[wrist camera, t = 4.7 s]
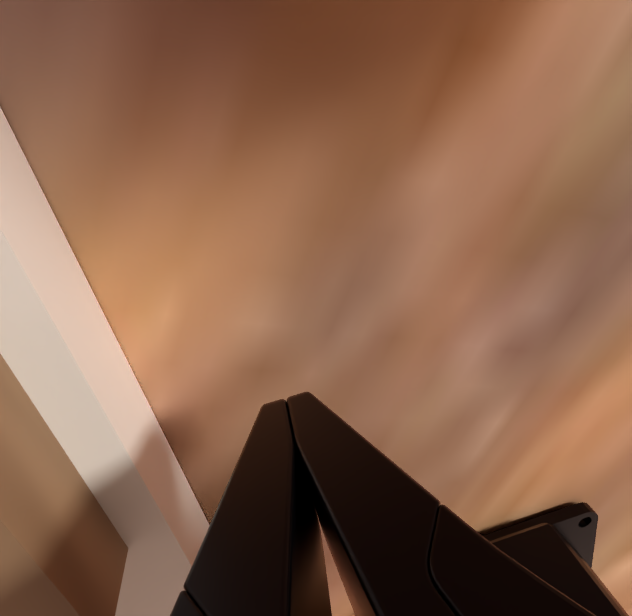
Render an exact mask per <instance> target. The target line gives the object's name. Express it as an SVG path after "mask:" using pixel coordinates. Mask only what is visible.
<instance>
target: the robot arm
mask: <svg viewBox="0 0 632 616" xmlns="http://www.w3.org/2000/svg"><path fill="white" fill-rule="evenodd" d="M317 515H318V516H317ZM318 518H319V520H318ZM319 521H320V524H321V527H322V530H323V533H324V536H325V538H326V541H327V544H328V546H329V549H330V551H331V554H332V556H333V559H334V562H335V564H336V567H337V569H338V572H339V574H340V577H341V580H342V582H343V585H344V587H345V590H346V592H347V595H348V597H349V600H350V603H351V605H352V608H353V610H354V613H355V615H356V616H629V615H628V614H627V613H626V612H625V610H624V609H623V608H622V607H621V605H620V604H619V603H618V602H617V600H616V599H615V598H614V597H613V595H612V594H611V593H610V592H609V590H608V589H607V588H606V586H605V585H604V584H603V583H602V581H601V580H600V579H599V578H598V576H597V575H596V574H595V573H594V571H593V570H592V569H591V567H592V559H593V552H594V544H595V537H596V529H597V521H598V515H597V514H596V512H595V511H594V510H593V509H592V508H591V507H590V506H589V505H588V504H587V503H583V502H582V503H577V504H574V505H571V506H569V507H566V508H563V509H560V510H557V511H554V512H551V513H548V514H545V515H542V516H539V517H537V518H534V519H531V520H528V521H525V522H522V523H519V524H516V525H513V526H510V527H507V528H505V529H502V530H499V531H496V532H493V533H490V534H487V535H484V536H482V535H481V534H479V533H478V532H477V531H475V530H474V529H473V528H472V527H470V526H469V525H468V524H467V523H465V522H464V521H463V520H462V519H461V518H459V517H458V516H457V515H456V514H455V513H453V512H452V511H451V510H450V509H449V508H448V507H446V506H445V505H440V501H439V500H438V499H436V498H435V497H434V496H433V495H432V494H430V493H429V492H428V491H427V490H426V489H424V488H423V487H422V486H421V485H420V484H419V483H417V482H416V481H415V480H414V479H413V478H411V477H410V476H409V475H408V474H407V473H405V472H404V471H403V470H402V469H401V468H399V467H398V466H397V465H396V464H395V463H394V462H392V461H391V460H390V459H389V458H388V457H386V456H385V455H384V454H383V453H382V452H380V451H379V450H378V449H377V448H376V447H374V446H373V445H372V444H371V443H370V442H368V441H367V440H366V439H365V438H364V437H363V436H361V435H360V434H359V433H358V432H357V431H355V430H354V429H353V428H352V427H351V426H349V425H348V424H347V423H346V422H345V421H343V420H342V419H341V418H340V417H339V416H338V415H336V414H335V413H334V412H333V411H332V410H330V409H329V408H328V407H327V406H326V405H324V404H323V403H322V402H321V401H320V400H318V399H317V398H316V397H315V396H314V395H312V394H311V393H310V392H304V393H300V394H297V395H294V396H291V397H288V399H287V402H286V401H285V400H284V399H280V400H277V401H274V402H270V403H267V404H264V405H263V406H262V407H261V409H260V412H259V414H258V416H257V418H256V421H255V423H254V425H253V428H252V430H251V432H250V434H249V437H248V439H247V441H246V444H245V446H244V448H243V450H242V453H241V455H240V457H239V460H238V462H237V464H236V466H235V469H234V471H233V473H232V476H231V478H230V480H229V482H228V485H227V487H226V489H225V492H224V494H223V496H222V498H221V501H220V503H219V505H218V508H217V510H216V512H215V514H214V517H213V519H212V521H211V523H210V526H209V528H208V530H207V533H206V535H205V537H204V539H203V542H202V544H201V546H200V549H199V551H198V553H197V555H196V558H195V560H194V562H193V565H192V567H191V569H190V571H189V574H188V576H187V578H186V581H185V583H184V586H183V587H184V590H183V591H181V592H180V593H179V596H178V598H177V600H176V603H175V605H174V607H173V610H172V612H171V614H170V616H332V613H331V605H330V598H329V590H328V582H327V575H326V567H325V559H324V551H323V544H322V537H321V531H320V525H319Z"/></svg>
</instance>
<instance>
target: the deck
mask: <svg viewBox="0 0 632 616" xmlns="http://www.w3.org/2000/svg"><path fill="white" fill-rule="evenodd" d="M0 354H1V355H2V357H3V358H4V360H5V361H6V363H7V364H8V366H9V367H10V369H11V370H12V372H13V373H14V375H15V376H16V378H17V379H18V381H19V382H20V384H21V386H22V387H23V389H24V390H25V392H26V393H27V395H28V396H29V398H30V399H31V401H32V402H33V404H34V405H35V407H36V408H37V410H38V411H39V413H40V414H41V416H42V417H43V419H44V421H45V422H46V424H47V425H48V427H49V428H50V430H51V431H52V433H53V434H54V436H55V437H56V439H57V440H58V442H59V443H60V445H61V446H62V448H63V449H64V451H65V452H66V454H67V456H68V457H69V459H70V460H71V462H72V463H73V465H74V466H75V468H76V469H77V471H78V472H79V474H80V475H81V477H82V478H83V480H84V481H85V483H86V484H87V486H88V487H89V489H90V491H91V492H92V494H93V495H94V497H95V498H96V500H97V501H98V503H99V504H100V506H101V507H102V509H103V510H104V512H105V513H106V515H107V516H108V518H109V519H110V521H111V523H112V524H113V526H114V527H115V529H116V530H117V532H118V533H119V535H120V536H121V538H122V539H123V541H124V542H125V544H126V545H127V547H128V553H127V558H126V563H125V568H124V573H123V578H122V583H121V588H120V593H119V598H118V603H117V608H116V613H115V616H170V614H171V612H172V610H173V607H174V605H175V603H176V600H177V598H178V596H179V593H180V592H181V591H183V590H184V587H183V586H184V583H185V581H186V578H187V576H188V574H189V571H190V569H191V567H192V565H193V562H194V560H195V558H196V555H197V553H198V551H199V549H200V546H201V544H202V542H203V539H204V537H205V535H206V533H207V530H208V528H209V526H210V525H209V523H208V521H207V519H206V517H205V515H204V513H203V511H202V509H201V507H200V505H199V503H198V501H197V499H196V497H195V495H194V493H193V491H192V489H191V487H190V485H189V483H188V481H187V479H186V477H185V475H184V473H183V471H182V469H181V467H180V465H179V463H178V461H177V459H176V457H175V455H174V453H173V451H172V449H171V447H170V445H169V443H168V441H167V439H166V437H165V435H164V433H163V431H162V429H161V427H160V425H159V423H158V421H157V419H156V417H155V415H154V413H153V411H152V409H151V407H150V405H149V403H148V401H147V399H146V397H145V395H144V393H143V391H142V389H141V387H140V385H139V383H138V381H137V379H136V377H135V375H134V373H133V371H132V369H131V367H130V365H129V363H128V361H127V359H126V357H125V355H124V353H123V351H122V349H121V347H120V345H119V343H118V341H117V339H116V337H115V335H114V333H113V331H112V329H111V327H110V325H109V323H108V321H107V319H106V317H105V315H104V313H103V311H102V309H101V307H100V305H99V303H98V301H97V299H96V297H95V295H94V293H93V291H92V289H91V287H90V285H89V283H88V281H87V279H86V277H85V275H84V273H83V271H82V269H81V267H80V265H79V263H78V261H77V259H76V257H75V255H74V253H73V251H72V249H71V247H70V245H69V243H68V241H67V239H66V237H65V235H64V233H63V231H62V229H61V227H60V225H59V223H58V221H57V219H56V217H55V215H54V213H53V211H52V209H51V207H50V205H49V203H48V201H47V199H46V197H45V195H44V193H43V191H42V189H41V187H40V185H39V183H38V181H37V179H36V177H35V175H34V173H33V171H32V169H31V167H30V165H29V163H28V161H27V159H26V157H25V155H24V153H23V151H22V149H21V147H20V145H19V143H18V141H17V139H16V137H15V135H14V133H13V131H12V129H11V127H10V125H9V123H8V121H7V119H6V117H5V115H4V113H3V111H2V109H1V107H0Z"/></svg>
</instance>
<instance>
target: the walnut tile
mask: <svg viewBox="0 0 632 616" xmlns="http://www.w3.org/2000/svg"><path fill="white" fill-rule="evenodd" d="M127 553H128V547H127V545H126V544H125V542H124V541H123V539H122V538H121V536H120V535H119V533H118V532H117V530H116V529H115V527H114V526H113V524H112V523H111V521H110V519H109V518H108V516H107V515H106V513H105V512H104V510H103V509H102V507H101V506H100V504H99V503H98V501H97V500H96V498H95V497H94V495H93V494H92V492H91V491H90V489H89V487H88V486H87V484H86V483H85V481H84V480H83V478H82V477H81V475H80V474H79V472H78V471H77V469H76V468H75V466H74V465H73V463H72V462H71V460H70V459H69V457H68V456H67V454H66V452H65V451H64V449H63V448H62V446H61V445H60V443H59V442H58V440H57V439H56V437H55V436H54V434H53V433H52V431H51V430H50V428H49V427H48V425H47V424H46V422H45V421H44V419H43V417H42V416H41V414H40V413H39V411H38V410H37V408H36V407H35V405H34V404H33V402H32V401H31V399H30V398H29V396H28V395H27V393H26V392H25V390H24V389H23V387H22V386H21V384H20V382H19V381H18V379H17V378H16V376H15V375H14V373H13V372H12V370H11V369H10V367H9V366H8V364H7V363H6V361H5V360H4V358H3V357H2V355H1V354H0V616H115V613H116V608H117V603H118V598H119V593H120V588H121V583H122V578H123V573H124V568H125V563H126V558H127Z"/></svg>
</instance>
